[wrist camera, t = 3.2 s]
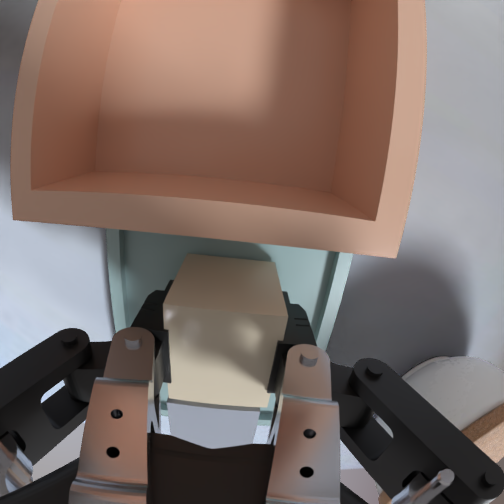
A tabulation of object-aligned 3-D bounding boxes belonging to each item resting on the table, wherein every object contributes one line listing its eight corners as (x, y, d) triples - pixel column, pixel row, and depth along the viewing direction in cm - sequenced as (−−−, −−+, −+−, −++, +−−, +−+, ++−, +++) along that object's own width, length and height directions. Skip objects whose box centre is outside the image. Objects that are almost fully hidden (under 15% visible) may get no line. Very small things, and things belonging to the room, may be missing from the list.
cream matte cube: (274, 262, 12) (288, 316, 8) (261, 341, 13) (267, 407, 10) (187, 253, 12) (163, 304, 8) (185, 334, 13) (168, 398, 9)
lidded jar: (325, 394, 16) (361, 534, 7) (471, 295, 14) (569, 392, 5) (377, 448, 19) (406, 536, 10) (482, 379, 17) (534, 454, 8)
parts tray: (349, 226, 12) (357, 233, 11) (295, 413, 16) (297, 425, 15) (115, 202, 11) (105, 207, 11) (135, 398, 16) (131, 409, 15)
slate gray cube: (256, 347, 14) (260, 411, 10) (247, 400, 15) (248, 459, 11) (182, 339, 13) (166, 402, 10) (184, 394, 15) (173, 451, 11)
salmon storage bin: (365, -15, 8) (414, -66, 3) (341, 213, 12) (395, 258, 7) (122, -32, 7) (79, -83, 3) (86, 189, 11) (13, 219, 7)
